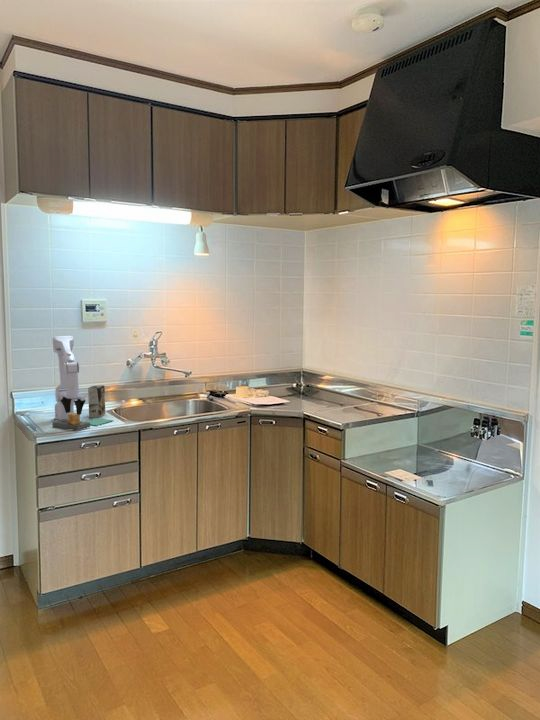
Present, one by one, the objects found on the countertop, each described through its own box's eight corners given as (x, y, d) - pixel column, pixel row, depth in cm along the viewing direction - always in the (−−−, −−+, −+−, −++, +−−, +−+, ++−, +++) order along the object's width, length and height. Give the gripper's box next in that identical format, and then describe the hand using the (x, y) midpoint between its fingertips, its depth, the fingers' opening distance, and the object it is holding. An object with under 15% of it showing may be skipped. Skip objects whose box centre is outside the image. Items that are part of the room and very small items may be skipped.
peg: (68, 428, 272) (67, 414, 271) (74, 426, 275) (73, 412, 274) (73, 429, 270) (73, 415, 269) (80, 427, 274) (79, 413, 273)
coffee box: (100, 417, 294) (99, 388, 292) (88, 417, 294) (87, 387, 292) (106, 413, 303) (104, 385, 301) (94, 413, 303) (93, 385, 301)
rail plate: (52, 426, 274) (52, 421, 274) (65, 423, 281) (65, 418, 281) (77, 431, 266) (77, 425, 266) (89, 427, 273) (89, 422, 273)
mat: (79, 423, 281) (78, 422, 281) (96, 418, 291) (96, 417, 291) (96, 426, 275) (96, 425, 275) (113, 421, 286) (113, 420, 286)
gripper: (55, 386, 270) (56, 413, 271) (76, 388, 263) (78, 416, 265) (66, 384, 276) (67, 410, 278) (87, 386, 269) (89, 413, 271)
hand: (73, 413), depth 272 cm, fingers open, 7 cm apart
